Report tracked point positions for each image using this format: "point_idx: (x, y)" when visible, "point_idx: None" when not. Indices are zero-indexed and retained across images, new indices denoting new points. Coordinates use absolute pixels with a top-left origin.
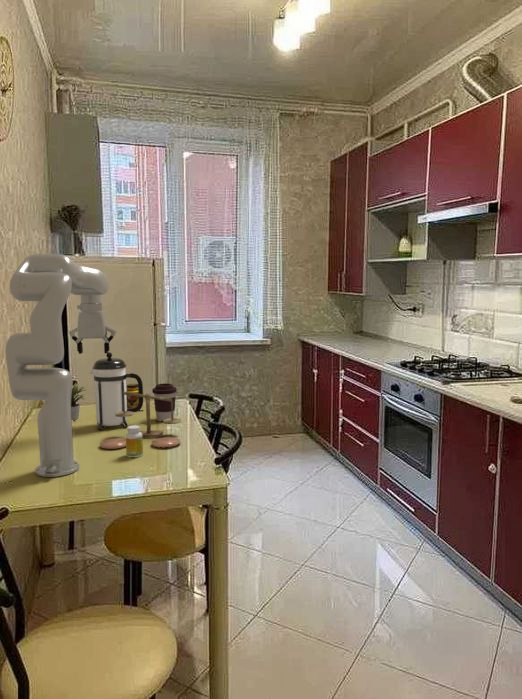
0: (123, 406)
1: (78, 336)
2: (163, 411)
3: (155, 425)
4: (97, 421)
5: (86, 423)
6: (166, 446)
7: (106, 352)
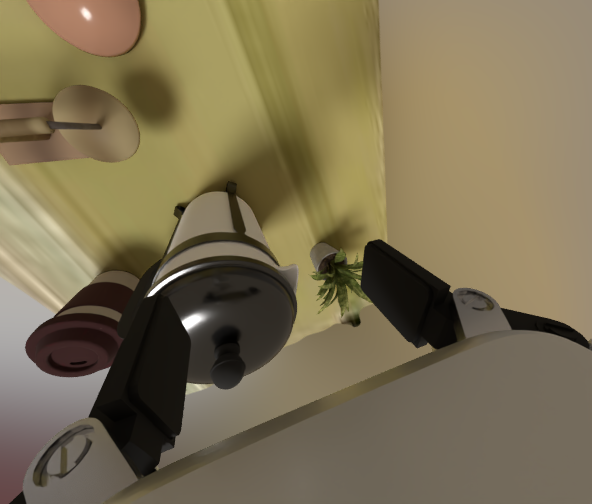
0: (85, 123)
1: (568, 341)
2: (95, 283)
3: (111, 239)
4: (246, 203)
5: (285, 234)
6: None
7: (146, 306)
